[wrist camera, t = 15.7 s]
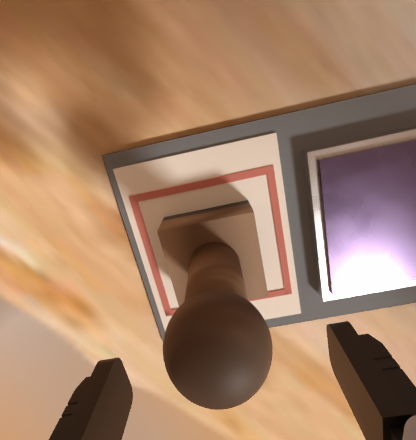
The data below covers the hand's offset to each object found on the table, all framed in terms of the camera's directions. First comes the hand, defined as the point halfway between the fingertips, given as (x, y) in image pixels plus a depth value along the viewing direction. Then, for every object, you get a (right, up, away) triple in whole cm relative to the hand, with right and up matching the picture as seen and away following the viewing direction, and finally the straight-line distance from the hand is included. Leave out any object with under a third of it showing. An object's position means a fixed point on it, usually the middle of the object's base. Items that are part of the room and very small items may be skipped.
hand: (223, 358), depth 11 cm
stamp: (0, +3, +10) cm, 11 cm away
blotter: (+5, +5, +10) cm, 12 cm away
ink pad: (+12, +6, +10) cm, 16 cm away
